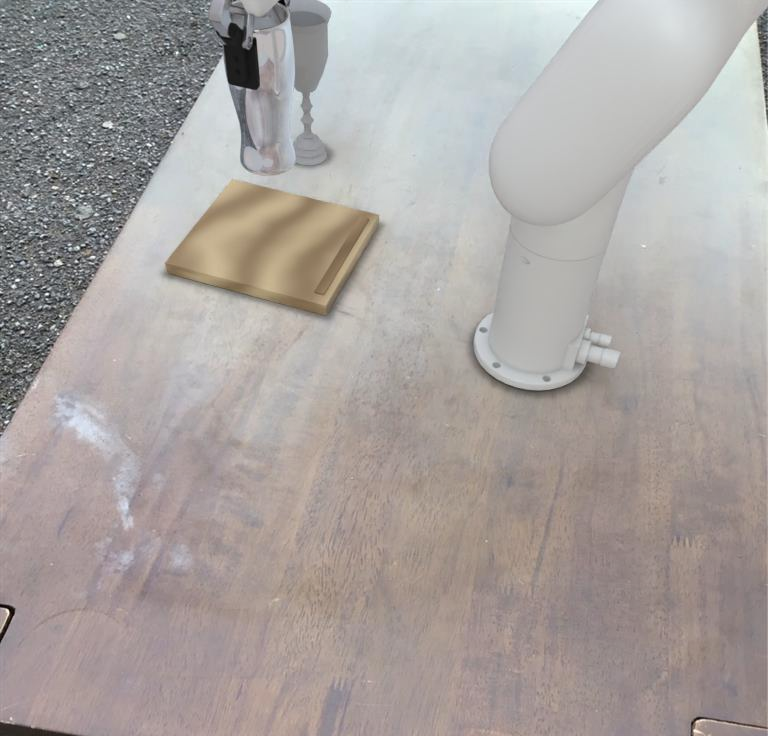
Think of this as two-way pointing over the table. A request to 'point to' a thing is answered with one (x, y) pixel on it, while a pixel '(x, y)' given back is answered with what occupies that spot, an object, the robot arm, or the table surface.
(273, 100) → the beer glass
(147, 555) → the table surface
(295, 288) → the serving board
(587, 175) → the robot arm
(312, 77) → the chalice
